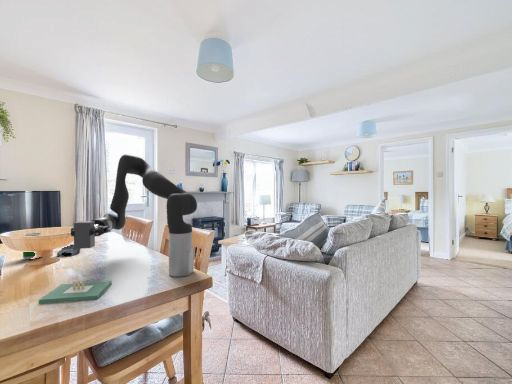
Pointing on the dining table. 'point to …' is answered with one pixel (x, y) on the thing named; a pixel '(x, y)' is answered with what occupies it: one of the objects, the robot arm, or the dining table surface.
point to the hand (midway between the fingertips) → (81, 233)
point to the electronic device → (68, 251)
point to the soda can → (30, 254)
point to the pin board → (76, 292)
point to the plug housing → (83, 234)
